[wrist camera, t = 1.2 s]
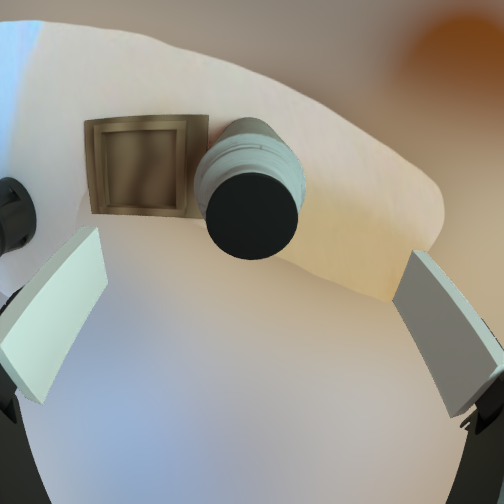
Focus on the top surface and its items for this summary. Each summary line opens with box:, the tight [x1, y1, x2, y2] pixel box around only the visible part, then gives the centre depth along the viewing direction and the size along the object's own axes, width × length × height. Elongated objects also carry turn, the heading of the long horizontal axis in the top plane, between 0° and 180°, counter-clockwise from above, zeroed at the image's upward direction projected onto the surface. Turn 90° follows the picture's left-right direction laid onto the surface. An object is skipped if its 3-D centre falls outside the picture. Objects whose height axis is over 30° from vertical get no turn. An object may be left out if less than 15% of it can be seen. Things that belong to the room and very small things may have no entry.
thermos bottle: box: [194, 117, 306, 260], centre depth 27 cm, size 8×8×28 cm
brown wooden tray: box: [85, 115, 209, 219], centre depth 39 cm, size 20×16×2 cm
